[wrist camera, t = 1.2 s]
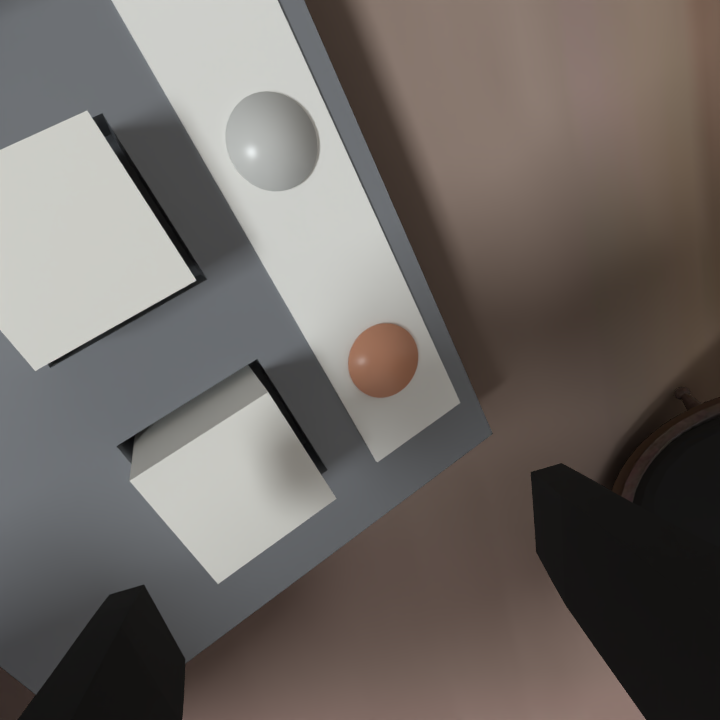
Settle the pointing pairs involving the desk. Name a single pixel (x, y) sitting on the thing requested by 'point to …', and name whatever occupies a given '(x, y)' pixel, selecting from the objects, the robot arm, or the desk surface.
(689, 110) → the desk surface
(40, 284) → the button
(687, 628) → the robot arm
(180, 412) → the button
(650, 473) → the alarm clock
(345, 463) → the button panel
